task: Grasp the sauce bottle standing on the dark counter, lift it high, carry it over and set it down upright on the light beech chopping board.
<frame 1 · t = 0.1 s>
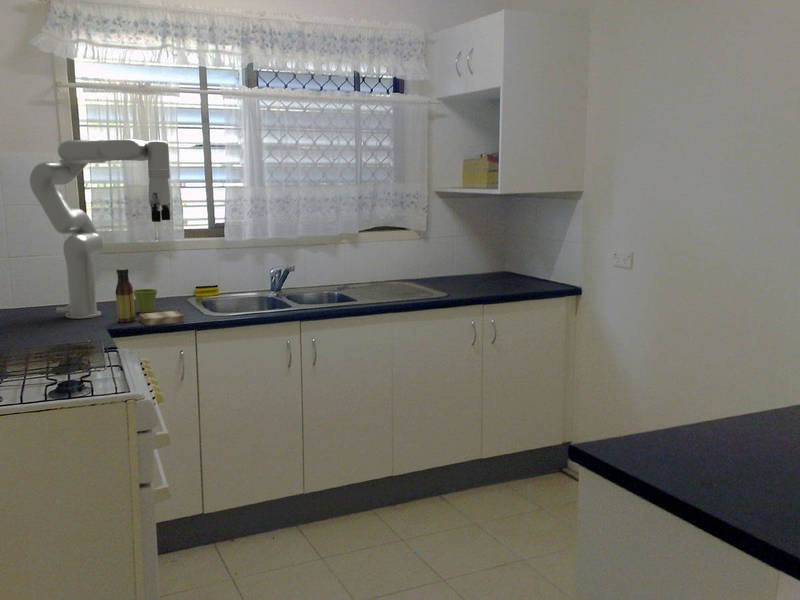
hand: (161, 220, 280), 37 cm above the worktop, tool pointing down, fingers open, 9 cm apart
board: (161, 321, 280), on the worktop
plant pot: (146, 312, 298), on the worktop
sauce bottle: (126, 321, 279), on the worktop
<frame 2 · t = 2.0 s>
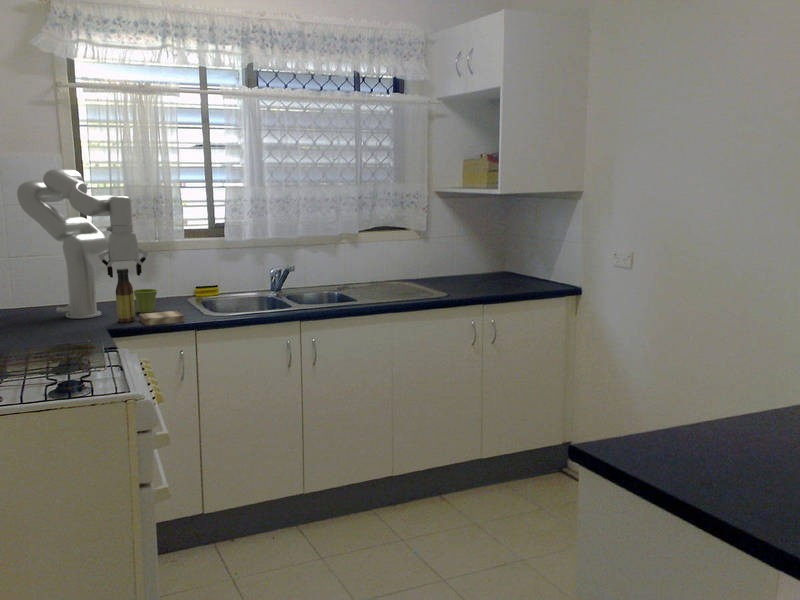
hand: (125, 276, 276), 17 cm above the worktop, tool pointing down, fingers open, 9 cm apart
nothing on the worktop moved.
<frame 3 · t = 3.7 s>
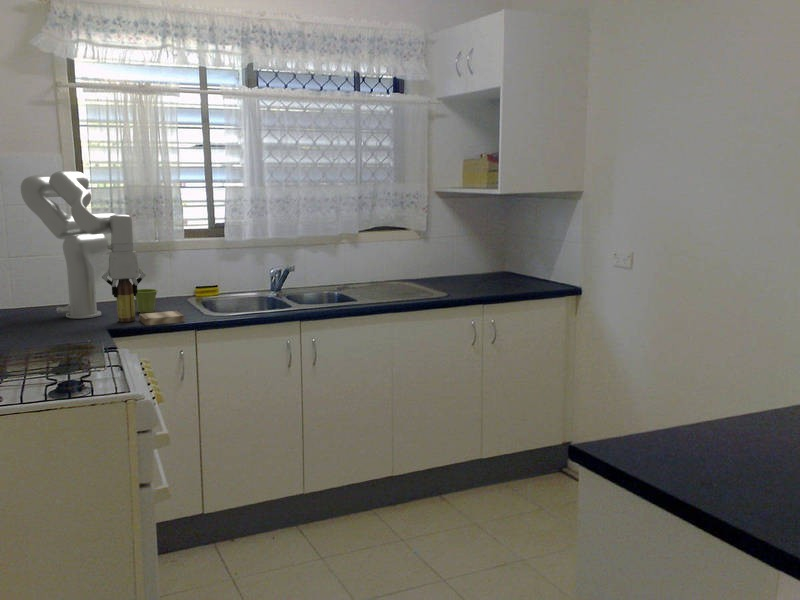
hand: (125, 295, 278), 10 cm above the worktop, tool pointing down, fingers closed on sauce bottle, 6 cm apart
sauce bottle: (126, 321, 279), on the worktop, touching gripper
everything else where it was.
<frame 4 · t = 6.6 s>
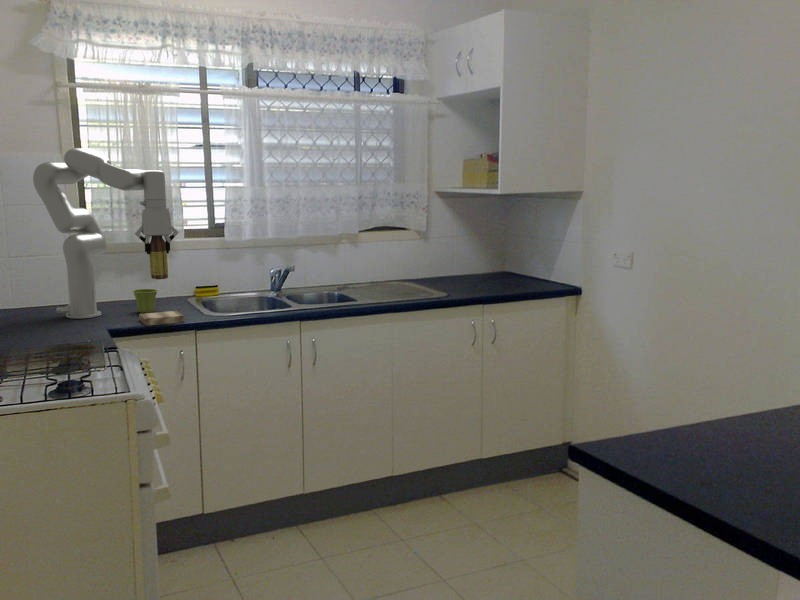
hand: (157, 253, 275), 26 cm above the worktop, tool pointing down, fingers closed on sauce bottle, 6 cm apart
sauce bottle: (159, 279, 277), point 16 cm above the worktop, touching gripper
everything else where it was.
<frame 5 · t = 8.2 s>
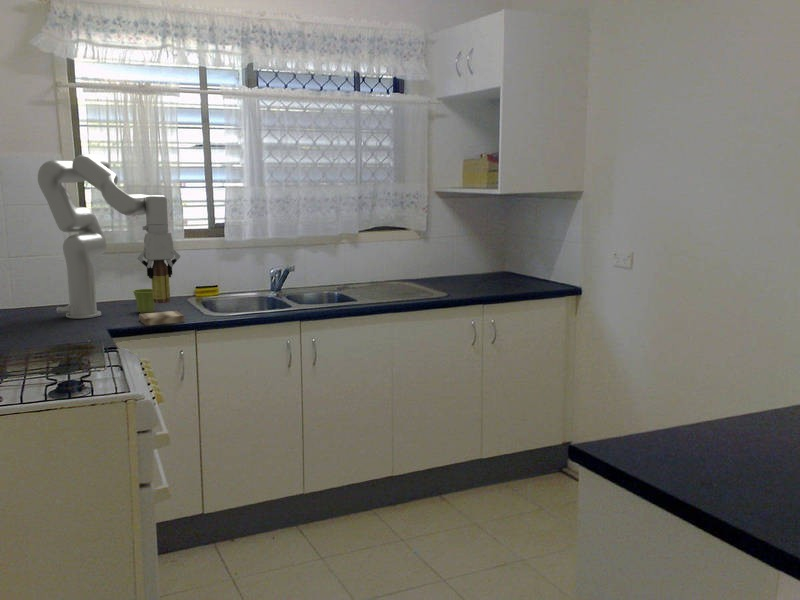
hand: (159, 277, 277), 17 cm above the worktop, tool pointing down, fingers closed on sauce bottle, 6 cm apart
sauce bottle: (161, 302, 278), point 7 cm above the worktop, touching gripper
everything else where it was.
when the fingers open (13 cm above the worktop, at t = 9.8 s): sauce bottle drops 1 cm, resting on board.
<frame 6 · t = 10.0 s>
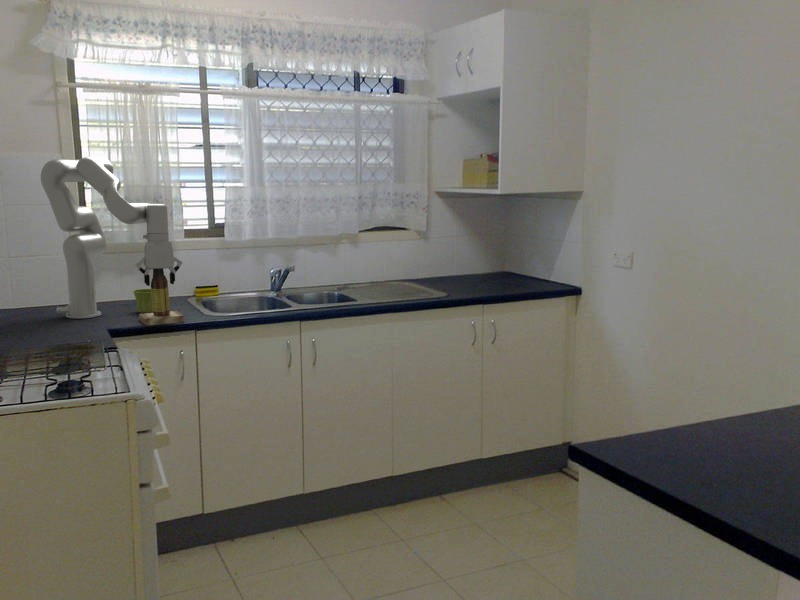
hand: (160, 284, 277), 14 cm above the worktop, tool pointing down, fingers open, 8 cm apart
sauce bottle: (161, 315, 279), point 2 cm above the worktop, touching board
everything else where it was.
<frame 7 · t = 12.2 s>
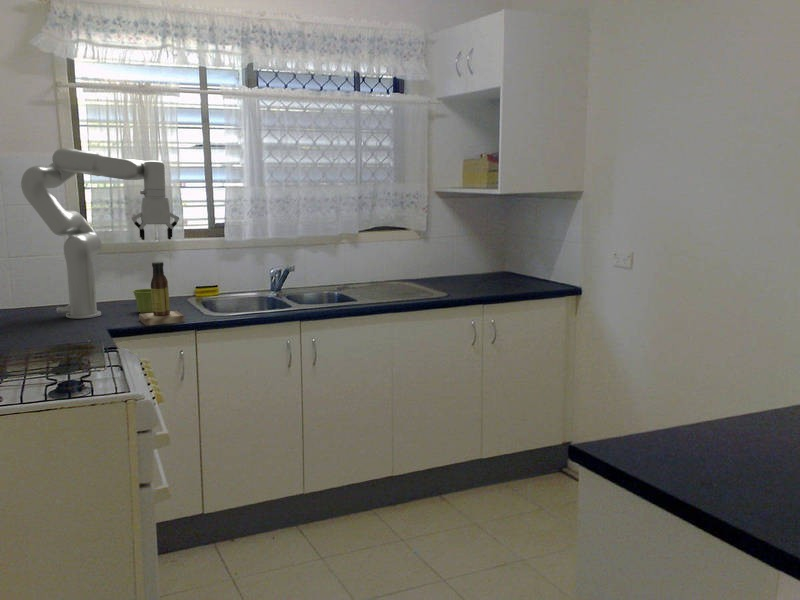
hand: (156, 239, 283), 30 cm above the worktop, tool pointing down, fingers open, 9 cm apart
nothing on the worktop moved.
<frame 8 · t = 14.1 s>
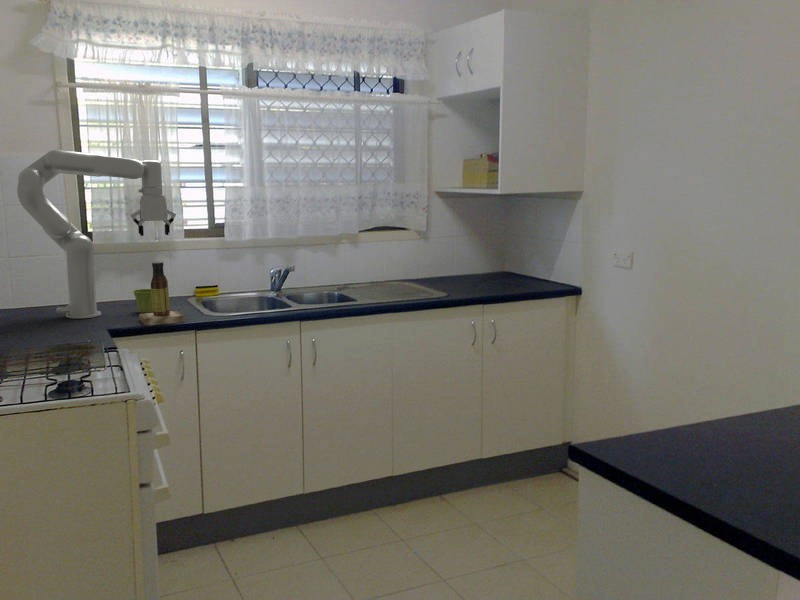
hand: (154, 235, 297), 30 cm above the worktop, tool pointing down, fingers open, 9 cm apart
nothing on the worktop moved.
at the end: sauce bottle inside the target area on the board (0.1 cm from its centre), point 2.3 cm above the board's base; sauce bottle tilted 0°; the gripper is holding nothing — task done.
